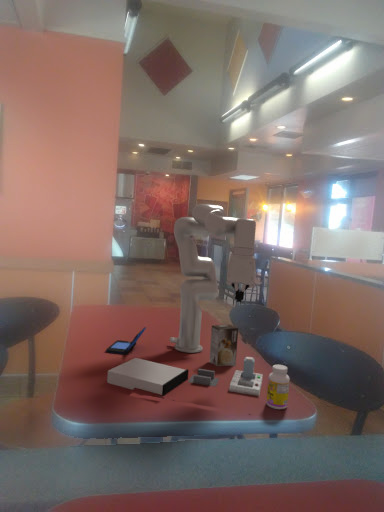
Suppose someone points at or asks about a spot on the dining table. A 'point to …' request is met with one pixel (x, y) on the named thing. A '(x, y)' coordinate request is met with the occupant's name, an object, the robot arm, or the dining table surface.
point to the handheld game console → (124, 345)
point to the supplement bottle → (278, 387)
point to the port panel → (246, 383)
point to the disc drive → (147, 376)
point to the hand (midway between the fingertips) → (239, 301)
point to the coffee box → (223, 345)
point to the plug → (248, 367)
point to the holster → (204, 378)
